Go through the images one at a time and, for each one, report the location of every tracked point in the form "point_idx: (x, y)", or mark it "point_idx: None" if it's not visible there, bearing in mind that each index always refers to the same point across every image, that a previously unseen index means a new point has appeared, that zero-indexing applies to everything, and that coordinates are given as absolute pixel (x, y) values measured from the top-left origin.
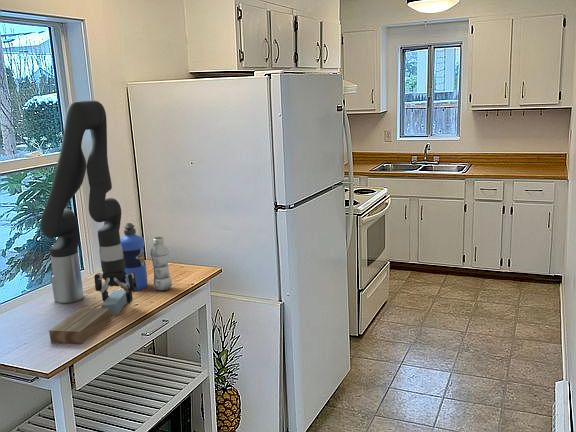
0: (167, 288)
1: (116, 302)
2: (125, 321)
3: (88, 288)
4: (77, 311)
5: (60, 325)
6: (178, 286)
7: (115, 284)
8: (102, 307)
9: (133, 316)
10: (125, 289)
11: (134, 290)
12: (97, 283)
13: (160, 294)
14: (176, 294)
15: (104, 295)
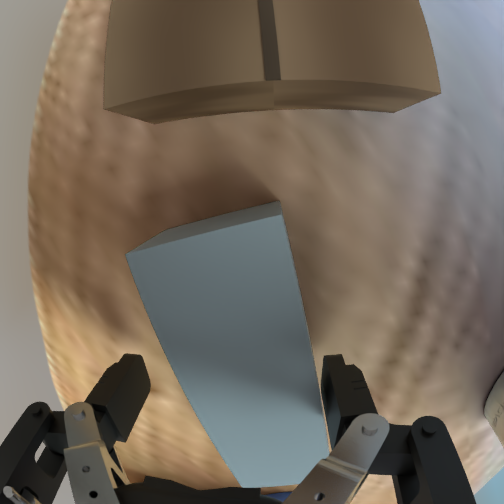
0: None
1: (149, 296)
2: (59, 134)
3: (469, 459)
4: (406, 2)
5: None
6: None
7: (172, 501)
8: (270, 211)
9: (55, 216)
10: (84, 429)
11: (276, 494)
12: (438, 489)
13: (137, 463)
14: None
15: (341, 398)
